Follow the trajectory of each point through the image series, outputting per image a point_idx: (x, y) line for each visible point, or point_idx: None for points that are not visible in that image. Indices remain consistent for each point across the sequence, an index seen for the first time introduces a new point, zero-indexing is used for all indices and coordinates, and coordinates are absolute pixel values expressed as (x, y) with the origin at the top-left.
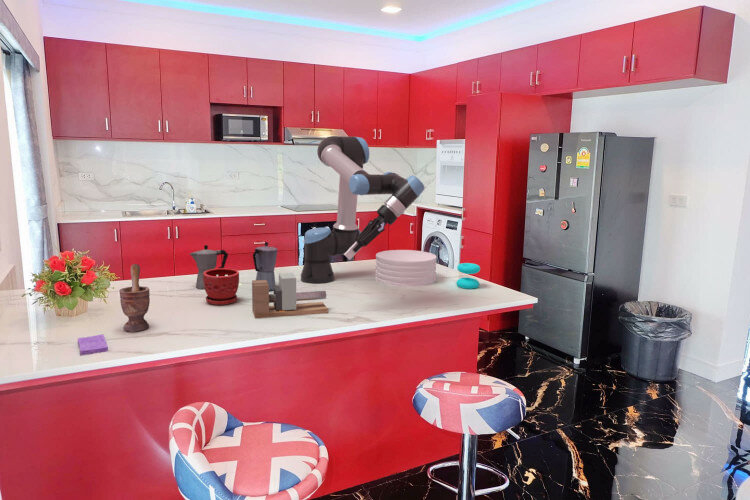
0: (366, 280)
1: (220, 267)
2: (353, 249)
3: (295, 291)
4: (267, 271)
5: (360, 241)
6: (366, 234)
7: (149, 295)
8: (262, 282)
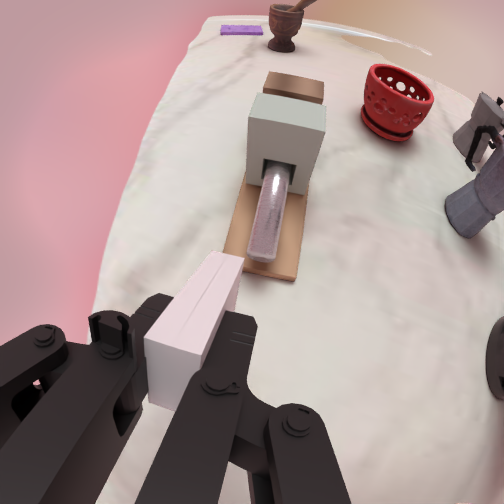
0: (464, 480)
1: (490, 143)
2: (158, 297)
3: (247, 147)
4: (476, 189)
5: (87, 357)
6: (3, 446)
7: (285, 19)
8: (296, 86)
